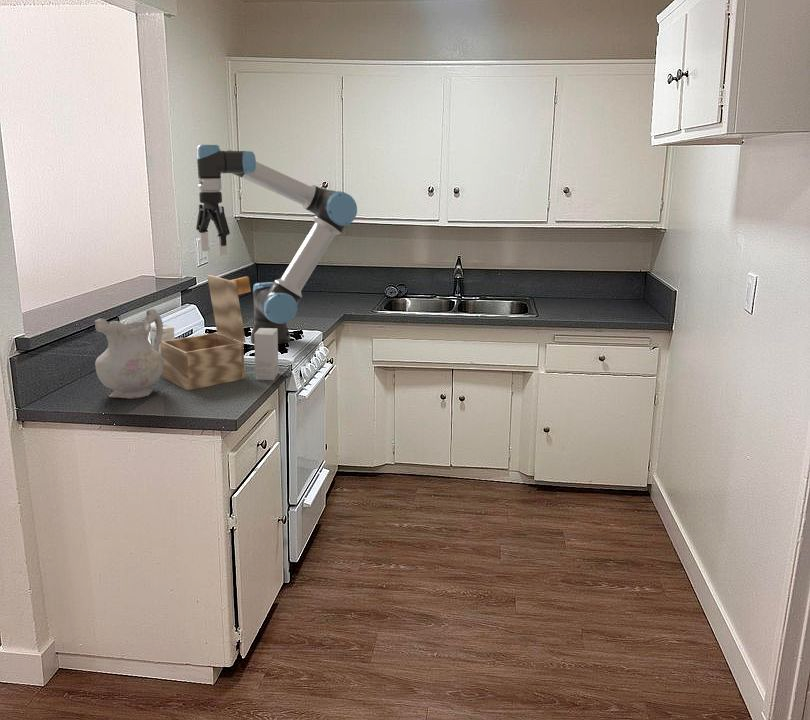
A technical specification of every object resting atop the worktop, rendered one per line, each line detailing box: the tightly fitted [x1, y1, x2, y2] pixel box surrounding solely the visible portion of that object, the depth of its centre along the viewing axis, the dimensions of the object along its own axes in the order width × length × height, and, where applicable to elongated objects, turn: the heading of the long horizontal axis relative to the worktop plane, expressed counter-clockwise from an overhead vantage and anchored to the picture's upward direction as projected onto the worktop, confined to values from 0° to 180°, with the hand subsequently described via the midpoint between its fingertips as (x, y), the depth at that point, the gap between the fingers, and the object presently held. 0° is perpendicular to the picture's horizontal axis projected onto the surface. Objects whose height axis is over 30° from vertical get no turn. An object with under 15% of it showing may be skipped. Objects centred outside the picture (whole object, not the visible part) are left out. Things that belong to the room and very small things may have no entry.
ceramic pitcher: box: [94, 308, 164, 400], centre depth 229 cm, size 22×20×25 cm
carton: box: [160, 332, 246, 391], centre depth 246 cm, size 20×18×12 cm
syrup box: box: [149, 324, 176, 354], centre depth 256 cm, size 6×6×14 cm
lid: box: [206, 274, 252, 344], centre depth 250 cm, size 20×18×10 cm
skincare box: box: [253, 328, 279, 381], centre depth 247 cm, size 8×7×16 cm
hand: (213, 253), depth 266 cm, fingers open, 13 cm apart
